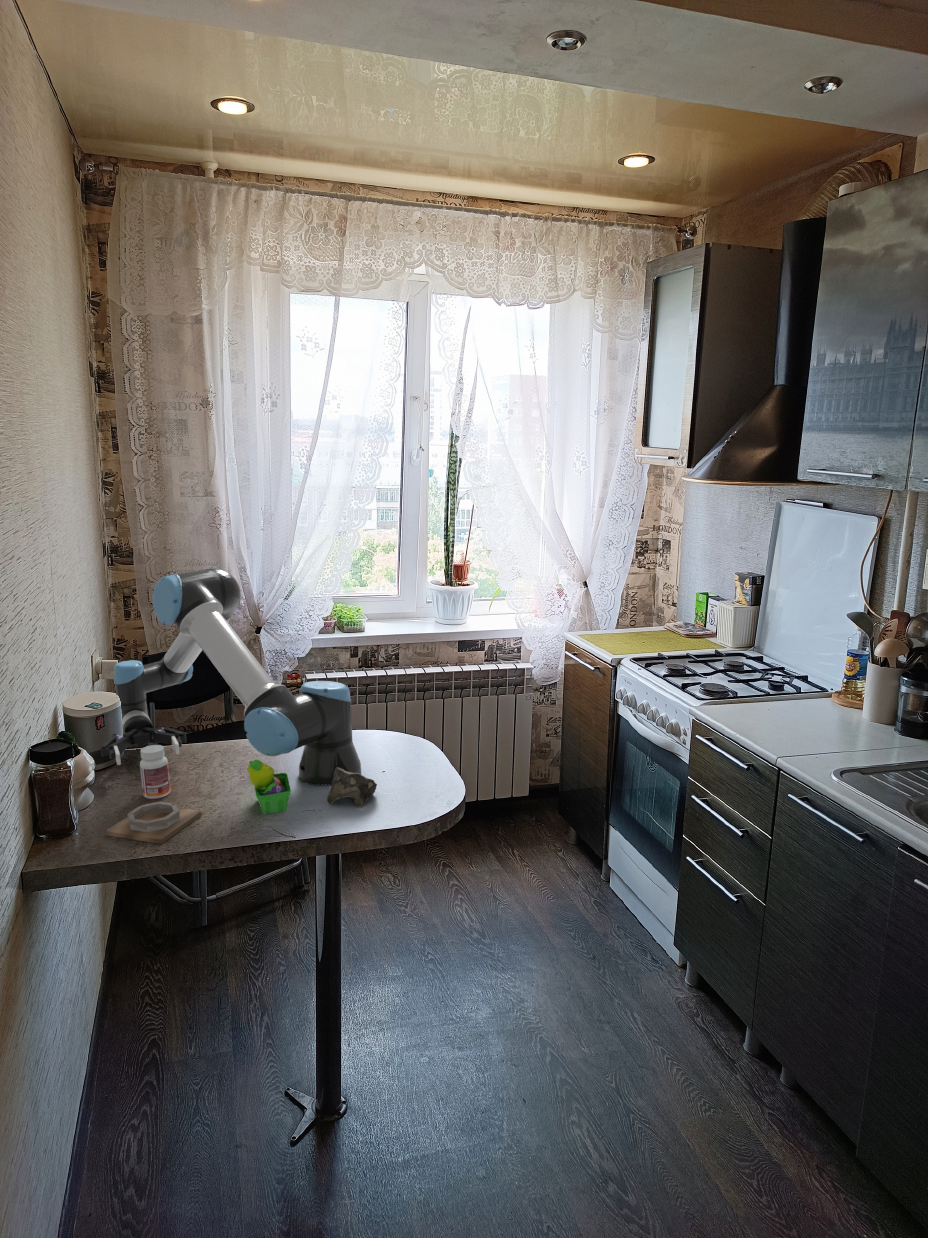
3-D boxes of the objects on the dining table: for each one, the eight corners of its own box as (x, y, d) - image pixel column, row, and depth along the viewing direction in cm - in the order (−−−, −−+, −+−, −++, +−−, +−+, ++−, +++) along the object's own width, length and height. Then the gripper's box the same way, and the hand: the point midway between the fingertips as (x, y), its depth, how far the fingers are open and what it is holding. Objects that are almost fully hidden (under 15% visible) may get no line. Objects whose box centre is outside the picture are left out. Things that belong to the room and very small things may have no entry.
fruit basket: (292, 812, 190) (289, 765, 187) (251, 818, 187) (248, 770, 185) (288, 792, 201) (285, 747, 198) (249, 797, 198) (245, 751, 196)
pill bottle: (176, 792, 201) (171, 747, 199) (153, 802, 197) (148, 755, 194) (160, 786, 205) (156, 742, 203) (137, 795, 200) (132, 750, 198)
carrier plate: (201, 815, 189) (200, 802, 189) (161, 844, 176) (160, 830, 176) (148, 808, 193) (147, 795, 193) (105, 835, 180) (103, 822, 180)
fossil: (381, 787, 201) (377, 759, 195) (374, 819, 194) (370, 791, 188) (336, 784, 202) (330, 756, 196) (328, 816, 195) (321, 788, 189)
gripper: (187, 734, 233) (202, 759, 214) (88, 750, 221) (94, 779, 203) (185, 707, 231) (200, 731, 212) (84, 723, 220) (91, 749, 201)
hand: (148, 754), depth 208 cm, fingers open, 13 cm apart
